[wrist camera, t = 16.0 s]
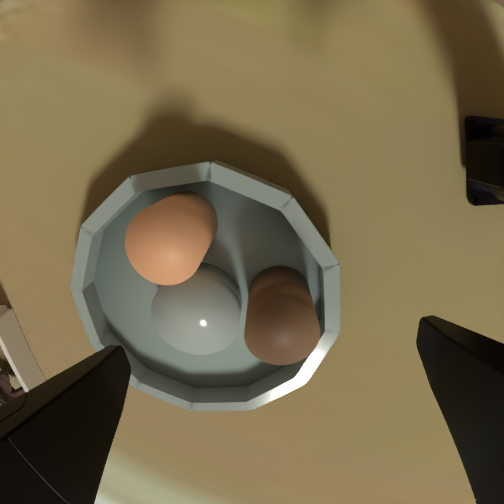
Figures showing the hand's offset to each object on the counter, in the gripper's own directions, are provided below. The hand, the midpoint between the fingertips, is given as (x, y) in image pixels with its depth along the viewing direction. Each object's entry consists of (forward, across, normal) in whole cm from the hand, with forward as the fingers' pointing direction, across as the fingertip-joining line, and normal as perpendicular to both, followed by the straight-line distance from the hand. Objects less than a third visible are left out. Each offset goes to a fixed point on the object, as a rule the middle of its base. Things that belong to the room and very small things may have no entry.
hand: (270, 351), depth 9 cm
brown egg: (+12, +5, -2) cm, 13 cm away
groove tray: (+12, +5, +4) cm, 14 cm away
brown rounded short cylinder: (+12, 0, +4) cm, 12 cm away
